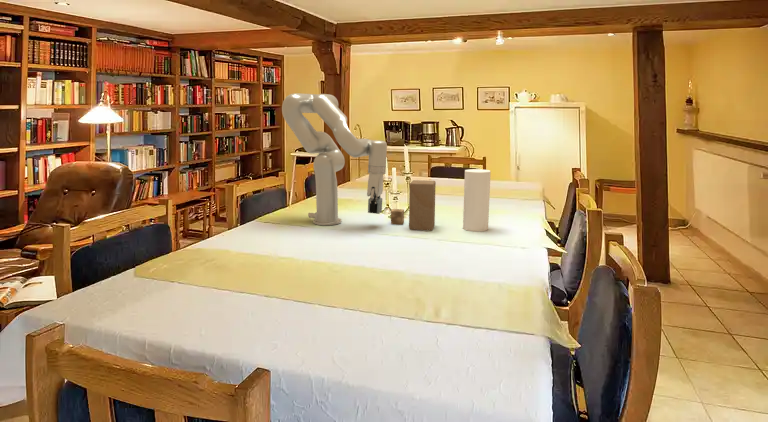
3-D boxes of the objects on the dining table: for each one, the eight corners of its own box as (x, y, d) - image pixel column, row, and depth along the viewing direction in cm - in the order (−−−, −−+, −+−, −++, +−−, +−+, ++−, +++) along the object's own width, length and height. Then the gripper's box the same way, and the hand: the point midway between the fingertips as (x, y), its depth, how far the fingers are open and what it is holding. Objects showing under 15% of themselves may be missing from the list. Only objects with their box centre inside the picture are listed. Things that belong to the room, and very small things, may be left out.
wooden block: (432, 230, 217) (433, 183, 213) (408, 229, 219) (409, 183, 215) (434, 225, 227) (435, 180, 223) (412, 224, 229) (412, 179, 225)
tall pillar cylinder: (492, 228, 222) (495, 170, 217) (479, 232, 214) (481, 172, 209) (472, 224, 229) (474, 168, 224) (458, 228, 221) (459, 170, 216)
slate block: (367, 212, 221) (368, 199, 220) (370, 210, 226) (371, 197, 225) (379, 213, 220) (379, 200, 219) (381, 211, 225) (382, 198, 224)
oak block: (390, 224, 229) (390, 211, 228) (393, 221, 234) (393, 209, 233) (401, 224, 228) (402, 211, 227) (403, 222, 233) (404, 209, 232)
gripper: (373, 166, 228) (371, 206, 232) (363, 171, 212) (361, 214, 216) (389, 168, 227) (387, 208, 230) (380, 173, 210) (378, 216, 214)
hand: (374, 210), depth 223 cm, fingers closed on slate block, 5 cm apart
